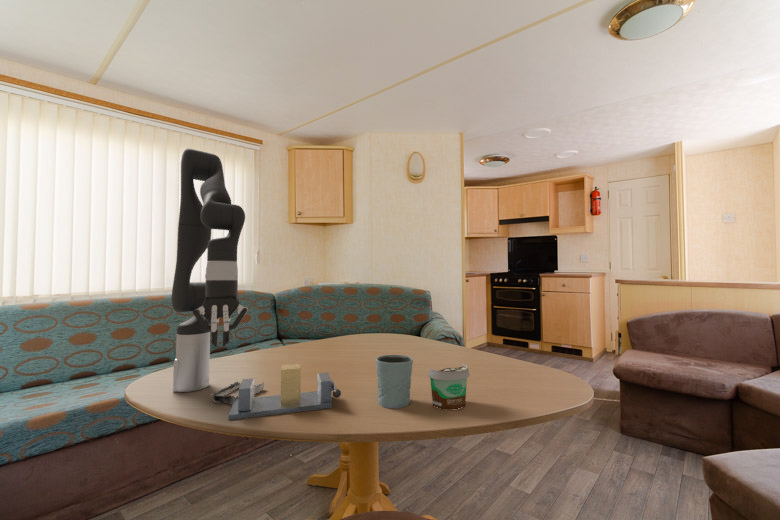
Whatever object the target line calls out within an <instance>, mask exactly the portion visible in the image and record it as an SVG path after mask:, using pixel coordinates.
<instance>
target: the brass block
mask: <svg viewBox="0 0 780 520" xmlns="http://www.w3.org/2000/svg"><path fill="white" fill-rule="evenodd" d="M301 370H302V369H301V364H300V363H294V364H282V365H281V364H280V395H281V405H282V404H291V403H300V393H301V381H302V380H301V377H302V376H301V375H302V373H301Z"/></svg>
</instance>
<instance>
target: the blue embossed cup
mask: <svg viewBox="0 0 780 520" xmlns="http://www.w3.org/2000/svg"><path fill="white" fill-rule="evenodd" d="M375 362H376V363H375V366H376V374H377V378H376V380H377V381H376V382H377V389H378V391H377V398H378V400H377V401H378V405H379V406H381V407H382V408H386V409H391V410H392V409H403V408H406V407H407V406H409V404H410V400H411V399H410V398H411V391H410V390H411V386H412V385H411V383H412V372H413V371H412V370H413V362H414V361H413V357H411V356H407V355H403V354H386V355H385V354H384V355H380V356H377V357H376V358H375ZM405 406H406V407H405Z"/></svg>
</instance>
